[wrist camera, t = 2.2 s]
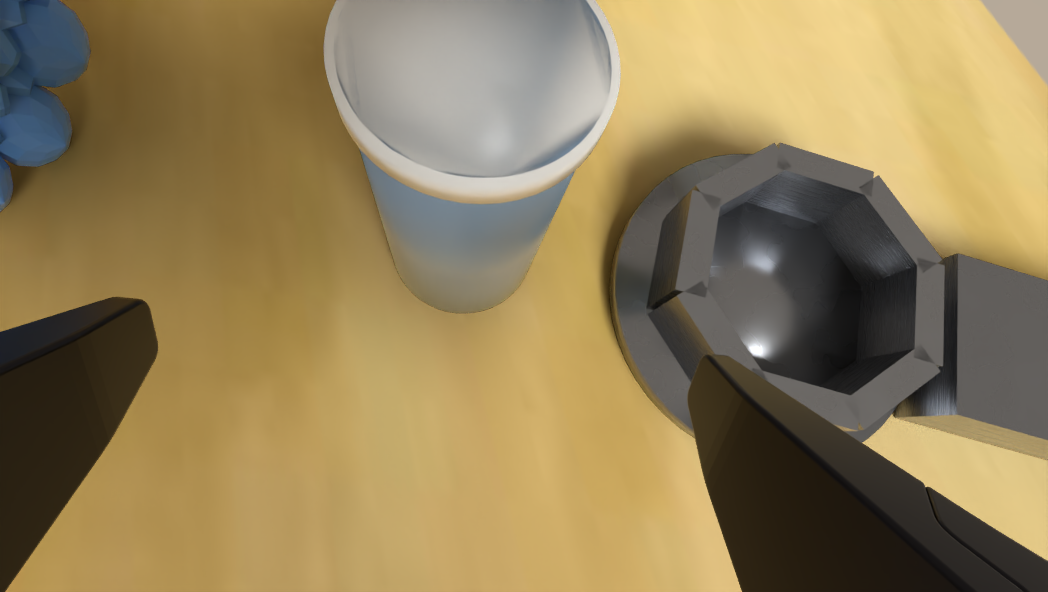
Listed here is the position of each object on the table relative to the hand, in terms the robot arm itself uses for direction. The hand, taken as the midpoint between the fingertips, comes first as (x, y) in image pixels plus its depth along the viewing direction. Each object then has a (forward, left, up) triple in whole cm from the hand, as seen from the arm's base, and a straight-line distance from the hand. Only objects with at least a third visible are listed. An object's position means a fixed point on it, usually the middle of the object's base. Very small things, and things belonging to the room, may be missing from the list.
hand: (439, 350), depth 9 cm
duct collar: (+16, -11, -13) cm, 23 cm away
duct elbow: (+7, +6, -13) cm, 16 cm away
